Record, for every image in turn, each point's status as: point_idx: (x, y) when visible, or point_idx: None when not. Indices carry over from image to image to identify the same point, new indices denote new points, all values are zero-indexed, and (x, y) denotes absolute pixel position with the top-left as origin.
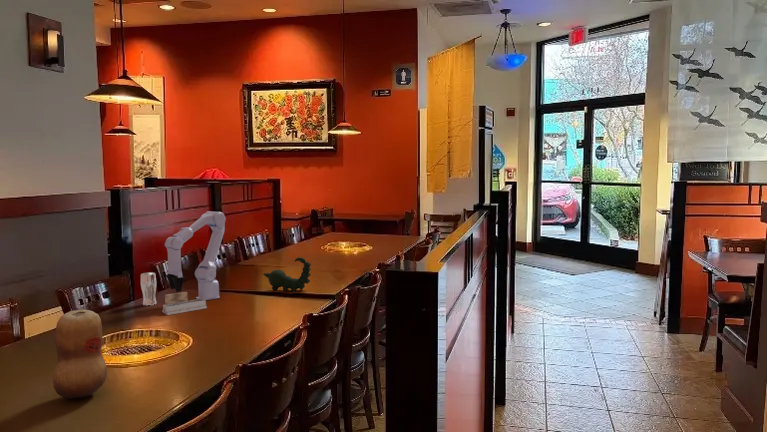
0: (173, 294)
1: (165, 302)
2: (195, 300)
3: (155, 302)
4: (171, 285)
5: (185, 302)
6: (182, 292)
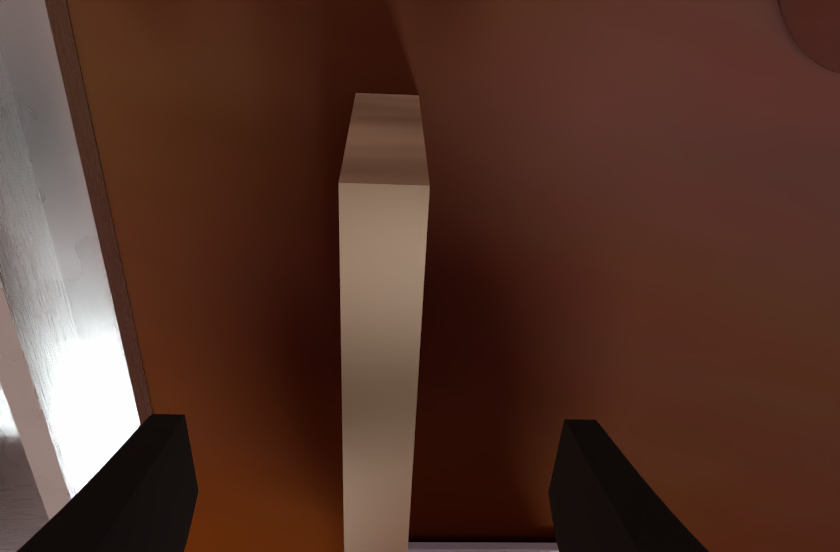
0: (343, 339)
1: (417, 122)
2: (43, 486)
3: (807, 39)
4: (591, 503)
5: (2, 351)
6: (381, 497)
